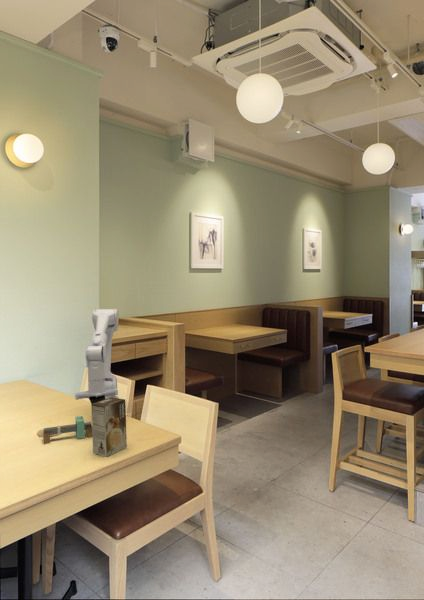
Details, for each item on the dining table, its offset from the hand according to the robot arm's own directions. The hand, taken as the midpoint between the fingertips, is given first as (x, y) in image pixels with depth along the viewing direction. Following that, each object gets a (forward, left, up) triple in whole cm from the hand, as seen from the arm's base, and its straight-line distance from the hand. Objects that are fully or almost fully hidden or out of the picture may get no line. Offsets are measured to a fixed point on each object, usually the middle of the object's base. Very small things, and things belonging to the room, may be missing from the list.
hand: (97, 417), depth 154 cm
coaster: (+15, -8, -6) cm, 18 cm away
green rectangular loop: (+6, 0, -6) cm, 8 cm away
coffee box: (-2, +17, -6) cm, 18 cm away
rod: (+10, 0, -6) cm, 12 cm away
